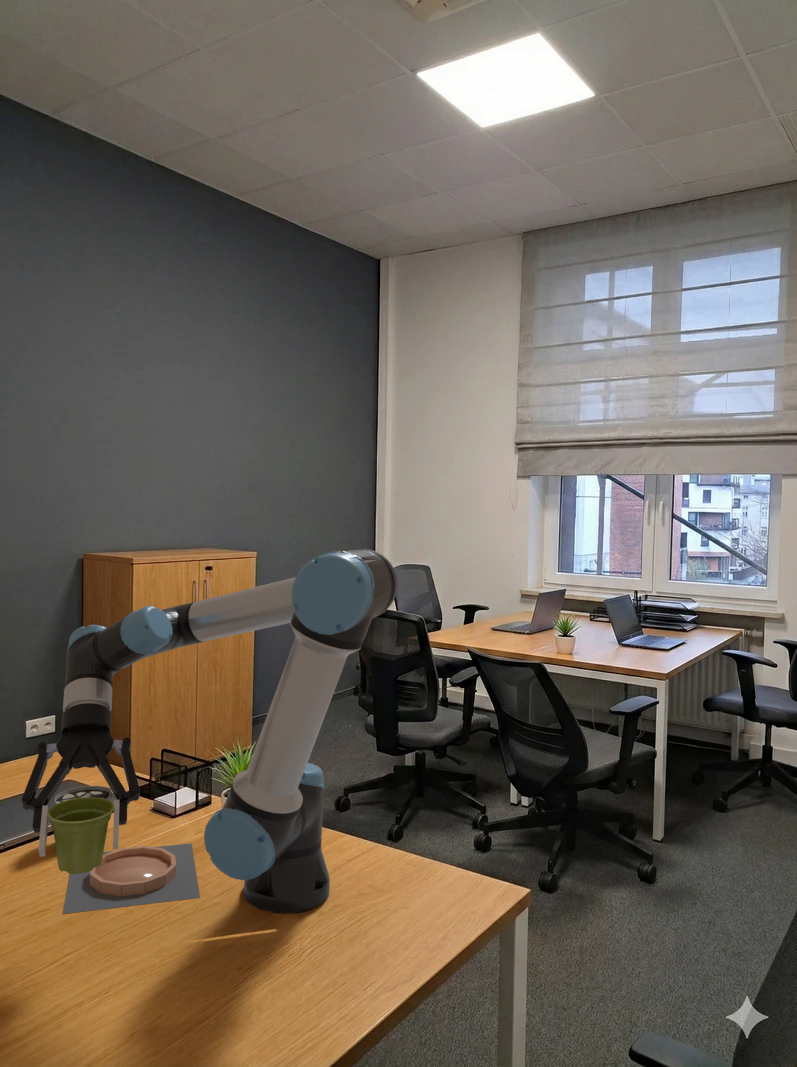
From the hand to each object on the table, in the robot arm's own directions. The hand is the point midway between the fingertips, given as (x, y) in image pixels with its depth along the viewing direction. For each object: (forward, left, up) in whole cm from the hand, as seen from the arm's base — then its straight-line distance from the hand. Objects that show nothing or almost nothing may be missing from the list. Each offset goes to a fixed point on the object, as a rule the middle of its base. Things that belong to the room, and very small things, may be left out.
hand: (79, 849), depth 115 cm
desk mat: (-8, -26, -18) cm, 33 cm away
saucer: (-8, -26, -17) cm, 33 cm away
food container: (+3, -44, -18) cm, 48 cm away
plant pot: (0, -3, -4) cm, 5 cm away
